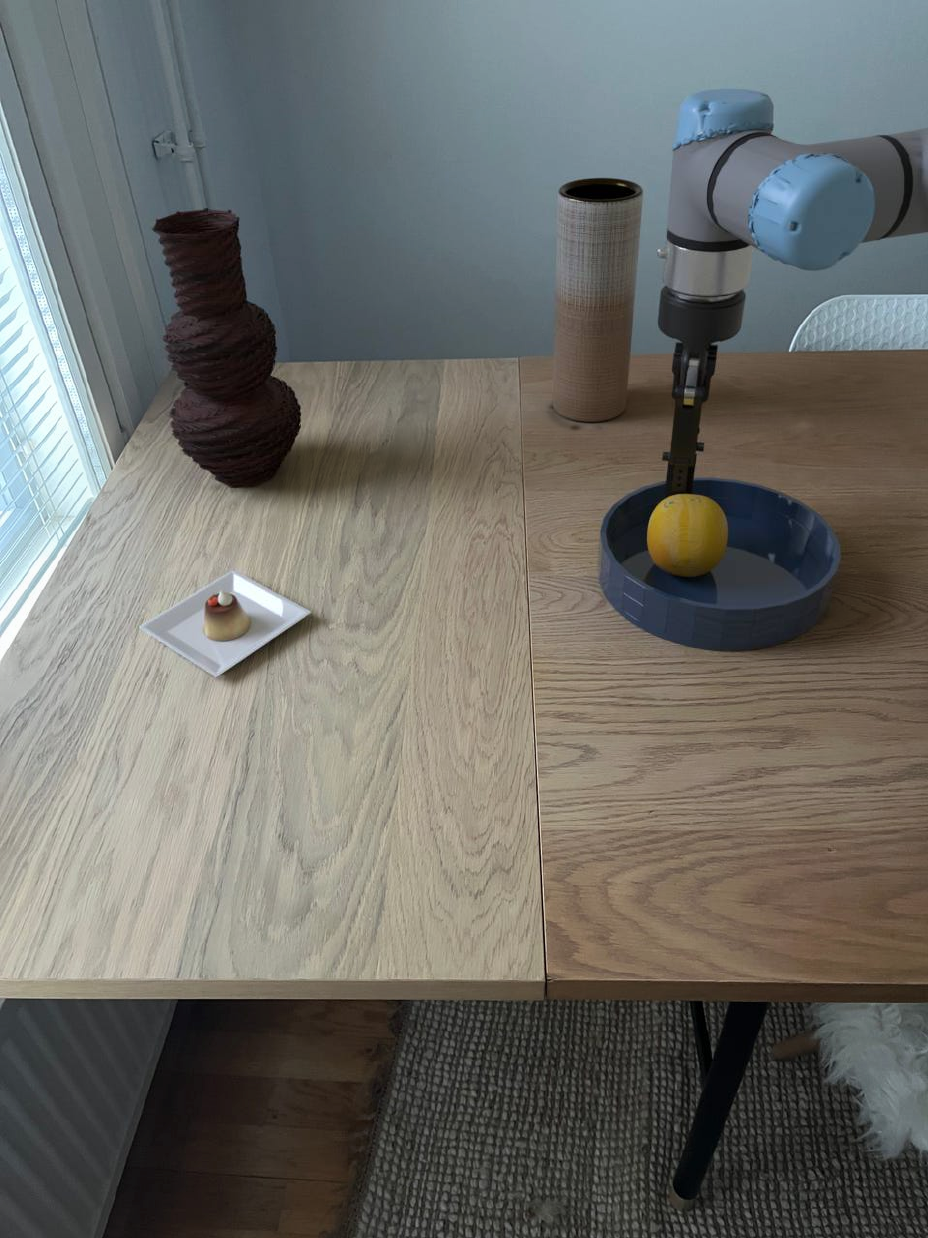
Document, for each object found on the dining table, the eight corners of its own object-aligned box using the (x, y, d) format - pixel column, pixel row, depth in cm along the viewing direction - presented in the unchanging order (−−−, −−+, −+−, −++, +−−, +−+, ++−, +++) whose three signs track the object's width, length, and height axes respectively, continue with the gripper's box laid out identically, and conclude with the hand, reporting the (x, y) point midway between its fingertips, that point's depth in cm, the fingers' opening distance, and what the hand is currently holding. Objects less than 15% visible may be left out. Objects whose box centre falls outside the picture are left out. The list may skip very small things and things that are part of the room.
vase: (176, 509, 112) (106, 248, 93) (193, 446, 124) (134, 204, 105) (307, 498, 112) (264, 238, 94) (311, 437, 124) (274, 195, 105)
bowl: (825, 528, 104) (834, 488, 101) (835, 666, 86) (847, 624, 83) (613, 506, 109) (616, 468, 106) (582, 633, 91) (584, 592, 88)
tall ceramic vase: (594, 383, 134) (605, 172, 116) (641, 409, 127) (661, 189, 110) (537, 403, 130) (541, 187, 112) (583, 430, 123) (594, 205, 106)
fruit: (635, 545, 101) (641, 480, 96) (709, 540, 101) (719, 475, 96) (653, 595, 94) (661, 528, 89) (733, 590, 95) (745, 522, 89)
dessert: (140, 635, 94) (128, 597, 90) (235, 577, 101) (226, 540, 98) (218, 686, 87) (207, 646, 84) (313, 620, 94) (306, 582, 91)
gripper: (667, 260, 91) (646, 475, 105) (654, 311, 81) (633, 540, 96) (748, 264, 89) (715, 482, 104) (744, 317, 79) (709, 549, 94)
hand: (676, 510), depth 100 cm, fingers closed
